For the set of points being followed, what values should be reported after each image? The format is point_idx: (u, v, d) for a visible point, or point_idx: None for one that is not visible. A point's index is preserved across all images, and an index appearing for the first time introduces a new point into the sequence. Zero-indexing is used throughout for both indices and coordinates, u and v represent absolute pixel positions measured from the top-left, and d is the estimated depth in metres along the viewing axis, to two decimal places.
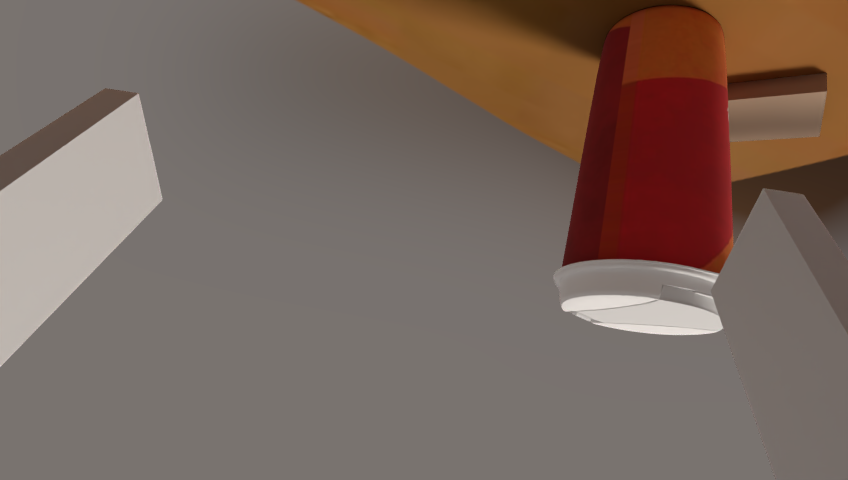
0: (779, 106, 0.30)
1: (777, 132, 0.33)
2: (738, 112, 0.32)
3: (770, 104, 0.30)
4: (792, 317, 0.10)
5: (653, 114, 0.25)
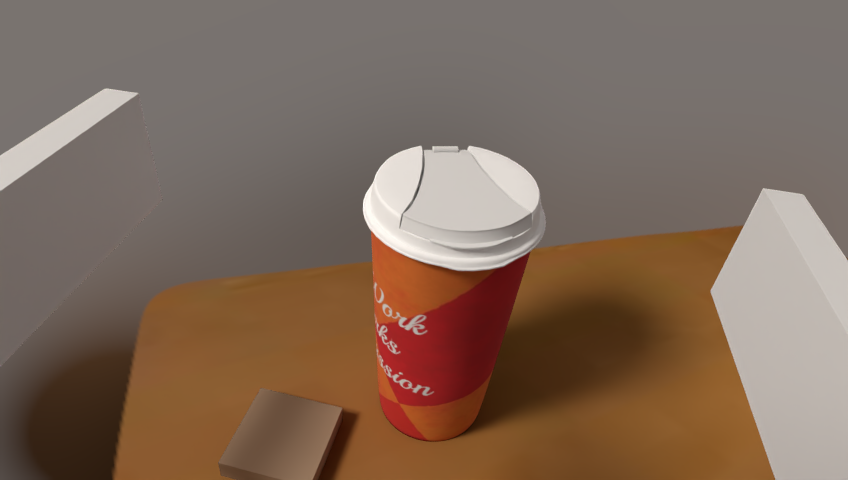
0: (305, 444, 0.28)
1: (253, 431, 0.29)
2: (314, 412, 0.30)
3: (313, 438, 0.29)
4: (792, 317, 0.10)
5: None
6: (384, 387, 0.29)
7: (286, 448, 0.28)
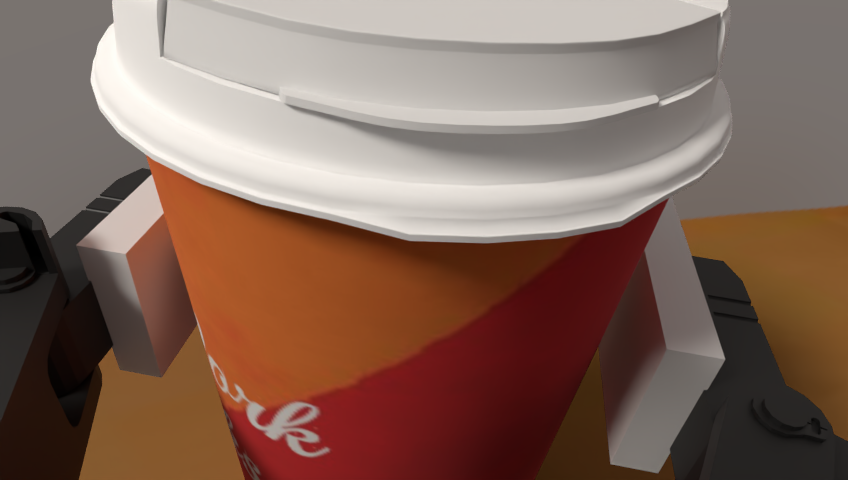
0: None
1: None
2: None
3: None
4: None
5: None
6: None
7: None
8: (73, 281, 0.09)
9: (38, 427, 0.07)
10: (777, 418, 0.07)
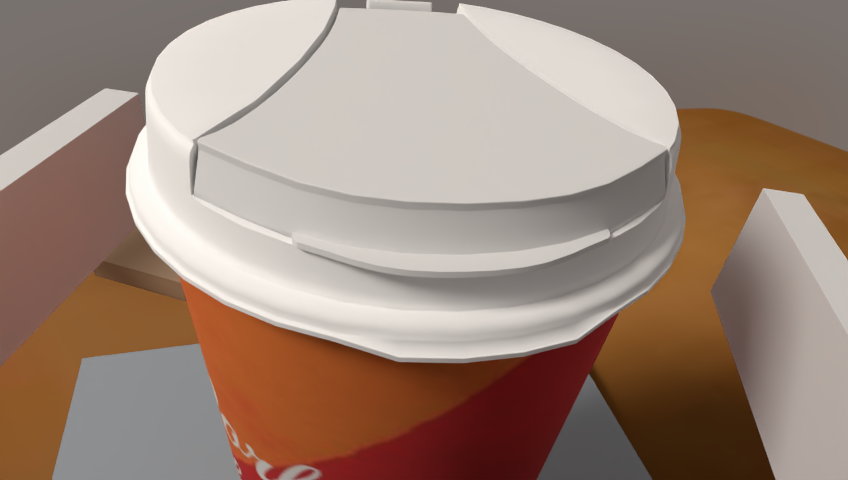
0: None
1: (135, 234, 0.26)
2: None
3: None
4: (792, 317, 0.10)
5: None
6: None
7: None
8: None
9: None
10: None
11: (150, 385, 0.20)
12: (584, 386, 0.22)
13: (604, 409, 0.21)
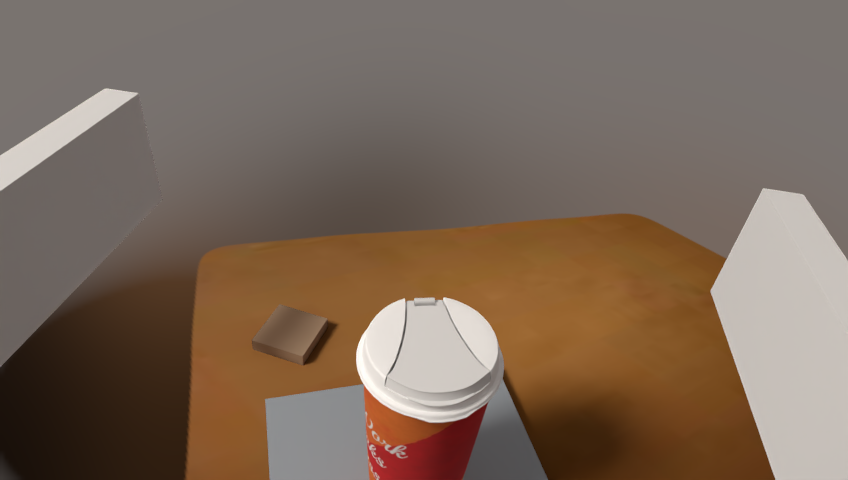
0: (303, 335, 0.48)
1: (273, 326, 0.48)
2: (310, 319, 0.49)
3: (307, 333, 0.48)
4: (792, 317, 0.10)
5: None
6: None
7: (291, 336, 0.47)
8: None
9: None
10: None
11: (301, 412, 0.42)
12: (511, 412, 0.43)
13: (519, 424, 0.43)
